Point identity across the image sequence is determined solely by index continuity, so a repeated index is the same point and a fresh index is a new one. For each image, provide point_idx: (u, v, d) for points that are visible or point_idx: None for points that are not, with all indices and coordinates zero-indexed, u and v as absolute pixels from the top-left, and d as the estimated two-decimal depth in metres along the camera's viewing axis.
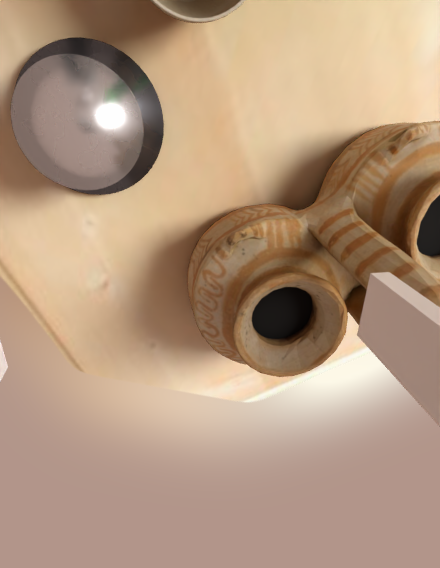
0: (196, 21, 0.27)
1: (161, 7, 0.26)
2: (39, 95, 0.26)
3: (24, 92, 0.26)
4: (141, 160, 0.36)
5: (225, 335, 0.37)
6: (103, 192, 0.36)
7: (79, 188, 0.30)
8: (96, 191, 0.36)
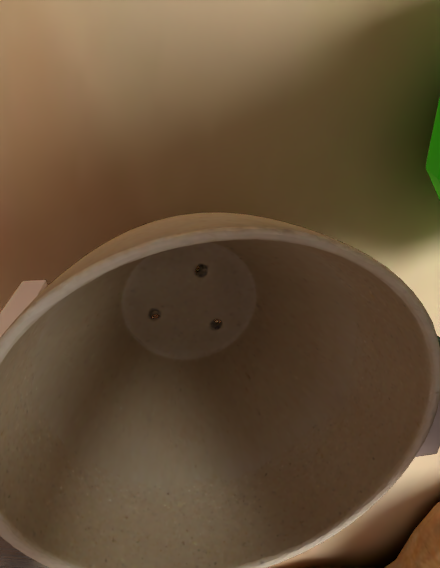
0: None
1: None
2: None
3: None
4: None
5: None
6: None
7: None
8: None
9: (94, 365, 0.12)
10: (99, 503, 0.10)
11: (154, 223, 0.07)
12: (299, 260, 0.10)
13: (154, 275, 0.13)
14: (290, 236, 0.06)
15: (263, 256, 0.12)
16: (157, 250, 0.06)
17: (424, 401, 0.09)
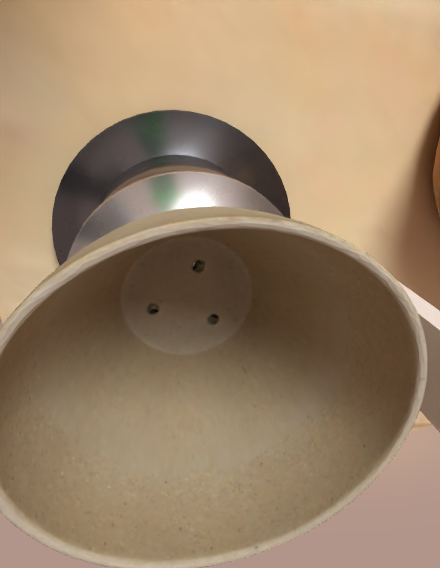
0: None
1: (125, 567, 0.10)
2: None
3: None
4: None
5: None
6: None
7: None
8: None
9: (94, 357, 0.12)
10: (99, 490, 0.10)
11: (151, 215, 0.07)
12: (292, 253, 0.11)
13: (152, 270, 0.13)
14: (278, 226, 0.06)
15: (258, 251, 0.12)
16: (153, 238, 0.06)
17: (411, 388, 0.09)
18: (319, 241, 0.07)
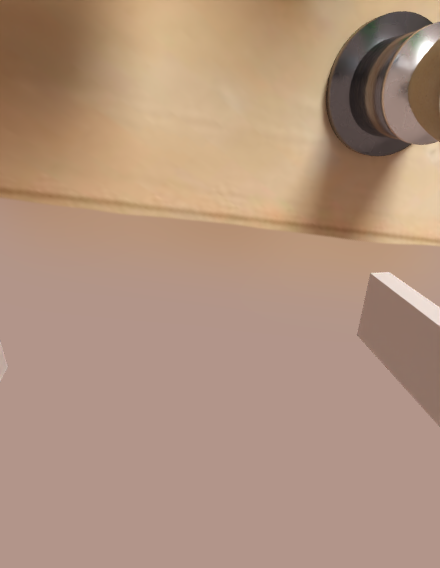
0: None
1: None
2: (400, 100, 0.32)
3: (392, 109, 0.32)
4: None
5: None
6: None
7: None
8: None
9: None
10: None
11: None
12: None
13: None
14: None
15: None
16: None
17: None
18: None
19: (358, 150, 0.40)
